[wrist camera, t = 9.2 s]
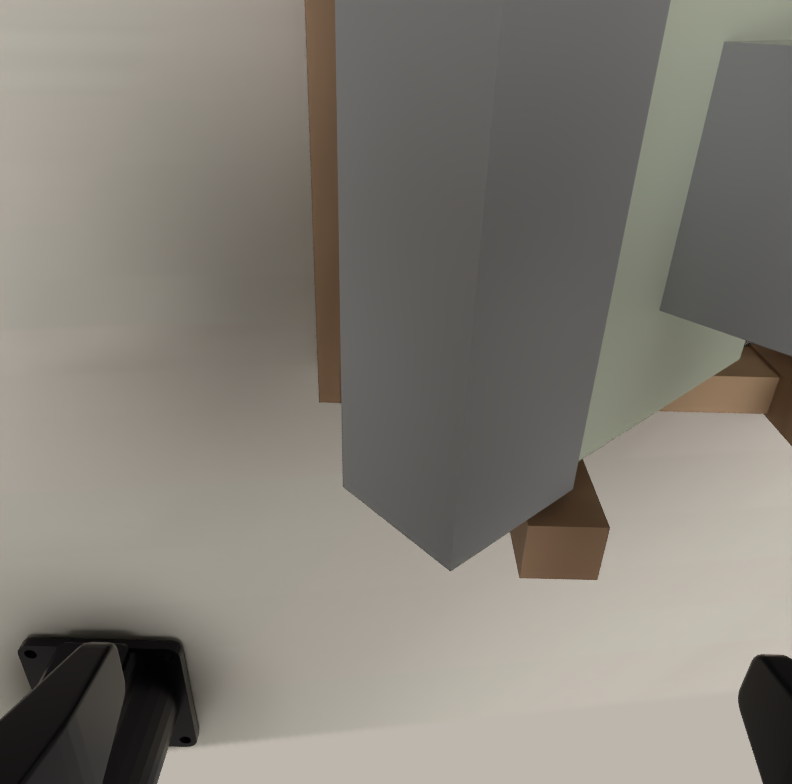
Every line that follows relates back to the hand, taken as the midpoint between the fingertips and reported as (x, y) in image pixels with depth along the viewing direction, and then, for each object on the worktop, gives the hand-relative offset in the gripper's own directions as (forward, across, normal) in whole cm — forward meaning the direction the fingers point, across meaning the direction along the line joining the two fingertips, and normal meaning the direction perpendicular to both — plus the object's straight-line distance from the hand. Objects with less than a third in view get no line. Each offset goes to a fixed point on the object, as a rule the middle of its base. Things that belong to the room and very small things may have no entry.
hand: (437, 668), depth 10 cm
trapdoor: (+8, -3, -5) cm, 10 cm away
